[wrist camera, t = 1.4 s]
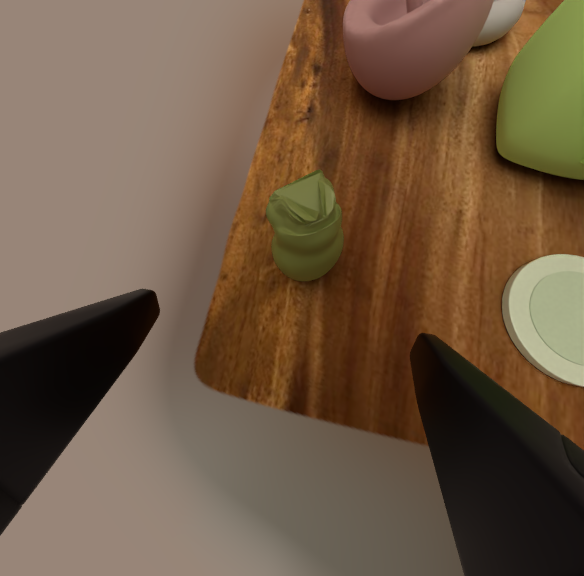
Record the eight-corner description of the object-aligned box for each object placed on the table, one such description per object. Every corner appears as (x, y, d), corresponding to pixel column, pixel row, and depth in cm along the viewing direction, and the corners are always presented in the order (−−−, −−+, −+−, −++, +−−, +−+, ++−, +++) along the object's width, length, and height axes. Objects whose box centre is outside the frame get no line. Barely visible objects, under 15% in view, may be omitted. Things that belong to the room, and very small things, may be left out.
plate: (628, 413, 19) (645, 416, 18) (486, 348, 20) (494, 348, 19) (648, 288, 21) (663, 286, 20) (518, 238, 22) (527, 234, 21)
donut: (432, 58, 28) (519, 50, 28) (449, 19, 25) (548, 9, 25) (416, 1, 31) (496, -8, 30) (430, -41, 27) (520, -52, 27)
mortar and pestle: (357, 36, 29) (393, -155, 18) (455, 64, 28) (560, -126, 17) (318, 108, 27) (331, -63, 16) (423, 143, 25) (521, -19, 14)
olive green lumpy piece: (290, 298, 22) (283, 257, 12) (265, 249, 23) (240, 175, 13) (344, 271, 22) (380, 210, 12) (317, 224, 23) (331, 136, 14)
